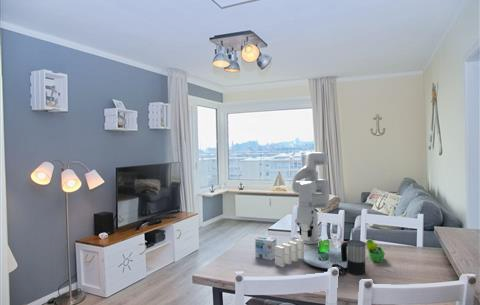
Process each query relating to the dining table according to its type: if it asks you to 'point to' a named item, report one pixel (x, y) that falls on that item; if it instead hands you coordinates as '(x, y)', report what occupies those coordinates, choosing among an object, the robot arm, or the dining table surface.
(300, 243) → the domino
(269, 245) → the light bulb box
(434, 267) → the dining table surface
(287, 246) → the domino
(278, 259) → the domino
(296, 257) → the domino
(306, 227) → the domino
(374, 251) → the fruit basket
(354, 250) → the milk frother
